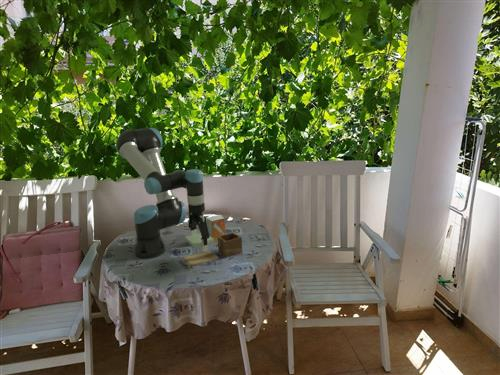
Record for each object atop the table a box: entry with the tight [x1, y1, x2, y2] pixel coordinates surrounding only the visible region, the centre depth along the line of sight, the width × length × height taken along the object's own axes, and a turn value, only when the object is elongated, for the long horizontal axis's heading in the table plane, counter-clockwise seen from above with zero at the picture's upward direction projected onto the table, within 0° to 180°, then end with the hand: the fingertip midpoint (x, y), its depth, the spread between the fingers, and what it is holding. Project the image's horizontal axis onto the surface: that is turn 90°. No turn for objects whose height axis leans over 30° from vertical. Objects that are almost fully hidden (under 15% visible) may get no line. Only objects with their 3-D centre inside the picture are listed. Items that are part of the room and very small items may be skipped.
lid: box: [184, 232, 215, 248], centre depth 184 cm, size 11×10×3 cm
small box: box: [206, 214, 227, 244], centre depth 207 cm, size 8×6×13 cm
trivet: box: [182, 249, 219, 269], centre depth 187 cm, size 10×14×2 cm
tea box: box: [217, 232, 243, 258], centre depth 191 cm, size 8×9×9 cm
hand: (199, 246), depth 185 cm, fingers closed on lid, 11 cm apart
